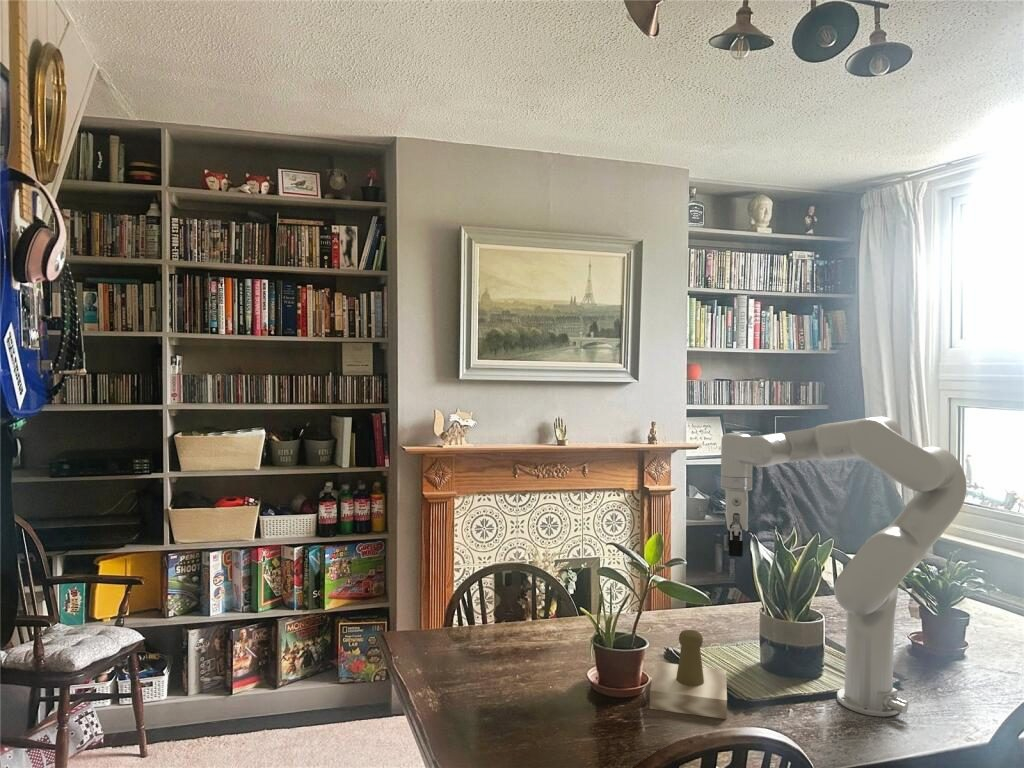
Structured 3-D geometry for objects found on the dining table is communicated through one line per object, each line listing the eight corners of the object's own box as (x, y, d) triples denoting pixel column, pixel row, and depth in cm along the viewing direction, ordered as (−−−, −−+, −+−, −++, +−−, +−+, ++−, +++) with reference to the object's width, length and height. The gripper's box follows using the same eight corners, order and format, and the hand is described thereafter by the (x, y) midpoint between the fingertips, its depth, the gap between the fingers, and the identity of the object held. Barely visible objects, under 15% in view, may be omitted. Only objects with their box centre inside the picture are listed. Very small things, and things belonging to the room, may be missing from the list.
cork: (704, 687, 159) (705, 637, 159) (676, 684, 160) (677, 635, 160) (703, 676, 165) (704, 628, 165) (676, 673, 166) (676, 625, 166)
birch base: (725, 687, 169) (726, 670, 169) (726, 719, 153) (727, 700, 153) (655, 678, 173) (655, 661, 173) (649, 708, 158) (649, 690, 157)
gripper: (753, 489, 172) (752, 561, 172) (750, 478, 188) (749, 544, 189) (720, 487, 174) (719, 558, 174) (720, 477, 190) (719, 542, 191)
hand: (735, 551), depth 182 cm, fingers open, 9 cm apart
